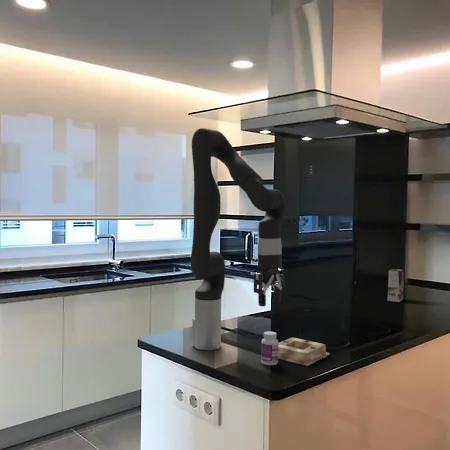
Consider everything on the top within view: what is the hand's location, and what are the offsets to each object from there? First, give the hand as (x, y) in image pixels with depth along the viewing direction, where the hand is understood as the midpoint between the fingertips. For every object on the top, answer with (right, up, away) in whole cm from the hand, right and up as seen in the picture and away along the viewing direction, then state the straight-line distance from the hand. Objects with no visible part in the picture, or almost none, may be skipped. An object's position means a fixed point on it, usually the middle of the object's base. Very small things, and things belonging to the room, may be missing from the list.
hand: (269, 303), depth 155 cm
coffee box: (+76, -15, +105) cm, 131 cm away
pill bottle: (0, -19, +1) cm, 19 cm away
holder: (+10, -19, +9) cm, 23 cm away
